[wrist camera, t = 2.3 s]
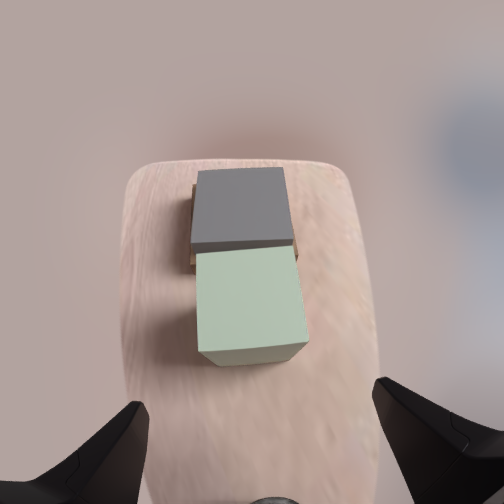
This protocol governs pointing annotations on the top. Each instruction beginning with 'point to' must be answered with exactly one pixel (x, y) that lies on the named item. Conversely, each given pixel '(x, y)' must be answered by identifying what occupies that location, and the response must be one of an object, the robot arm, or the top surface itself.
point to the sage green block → (249, 306)
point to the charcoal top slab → (241, 210)
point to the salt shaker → (275, 501)
